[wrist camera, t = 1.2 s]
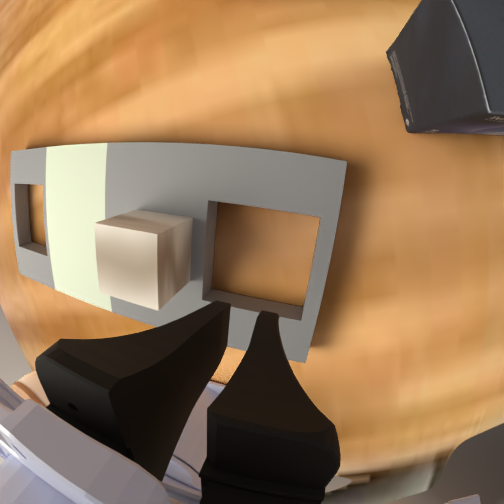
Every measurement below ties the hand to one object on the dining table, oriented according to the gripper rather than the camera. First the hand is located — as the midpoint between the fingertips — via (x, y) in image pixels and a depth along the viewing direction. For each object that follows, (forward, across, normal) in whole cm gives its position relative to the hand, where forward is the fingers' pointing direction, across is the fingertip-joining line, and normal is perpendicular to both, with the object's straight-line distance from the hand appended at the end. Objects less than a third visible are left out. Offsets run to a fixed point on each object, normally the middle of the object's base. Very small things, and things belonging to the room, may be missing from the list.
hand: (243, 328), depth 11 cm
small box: (+10, -11, -14) cm, 20 cm away
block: (+7, +8, 0) cm, 11 cm away
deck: (+9, +13, 0) cm, 16 cm away
